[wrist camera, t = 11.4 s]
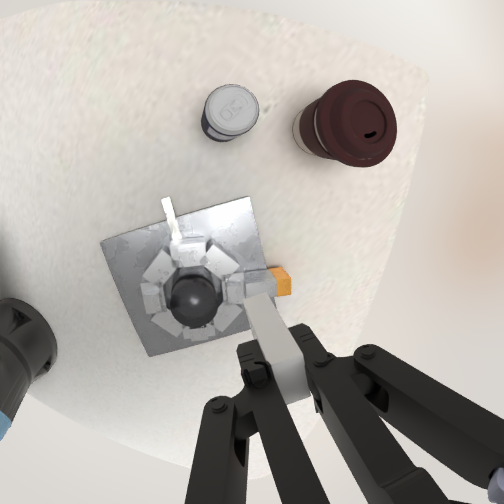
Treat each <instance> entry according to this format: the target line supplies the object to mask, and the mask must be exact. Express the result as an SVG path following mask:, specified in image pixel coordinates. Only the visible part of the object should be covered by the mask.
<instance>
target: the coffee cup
mask: <svg viewBox="0 0 504 504" xmlns="http://www.w3.org/2000/svg"><path fill="white" fill-rule="evenodd" d="M293 135H294V138H295V140H296V142H297V144H298V145H299V146H300V148H302V149H303V150H304V151H305V152H307V153H309V154H312V155H317V156H319V157H322V158H327V159H332V160H338V161H339V162H341V163H343V164H346V165H349V166H353V167H371V166H374V165H377V164H379V163H380V162H382V161H383V160H384V159H385V158H386V157H387V156H388V155H389V154H390V152H391V151H392V149H393V146H394V144H395V140H396V135H397V123H396V118H395V114H394V111H393V108H392V106H391V104H390V103H389V101H388V100H387V98H386V97H385V96H384V94H383V93H382V92H380V91H379V90H378V89H377V88H376V87H374V86H372V85H371V84H369V83H366V82H363V81H359V80H347V81H343V82H341V83H338V84H336V85H334V86H332V87H331V88H329V89H328V90H327V91H326V92H325V93H324V94H323V96H322V97H320V98H319V99H317V100H315V101H314V102H312V103H311V104H309V105H308V106H307V107H306V108H305V109H304V110H302V111H301V112H300V113H299V114H298V115H297V117H296V119H295V121H294V124H293Z"/></svg>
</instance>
